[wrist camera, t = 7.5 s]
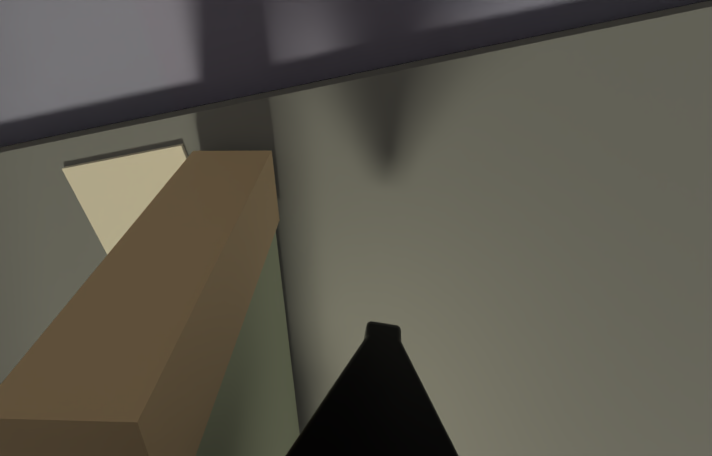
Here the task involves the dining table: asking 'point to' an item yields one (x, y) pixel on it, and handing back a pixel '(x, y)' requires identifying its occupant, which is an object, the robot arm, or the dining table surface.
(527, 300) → the card
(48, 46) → the dining table surface
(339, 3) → the dining table surface
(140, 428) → the fence panel
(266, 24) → the dining table surface
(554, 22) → the dining table surface
